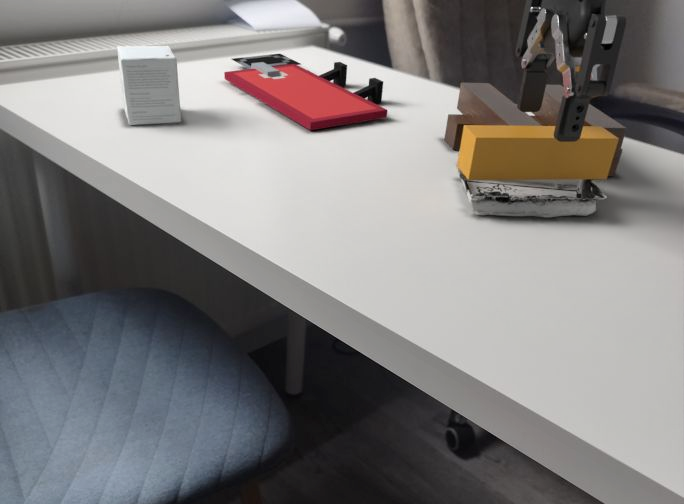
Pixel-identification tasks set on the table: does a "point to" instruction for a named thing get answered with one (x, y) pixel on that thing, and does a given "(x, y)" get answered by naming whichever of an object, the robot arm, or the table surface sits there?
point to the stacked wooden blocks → (519, 114)
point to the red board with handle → (307, 91)
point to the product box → (149, 84)
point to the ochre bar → (534, 153)
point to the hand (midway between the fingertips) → (545, 124)
